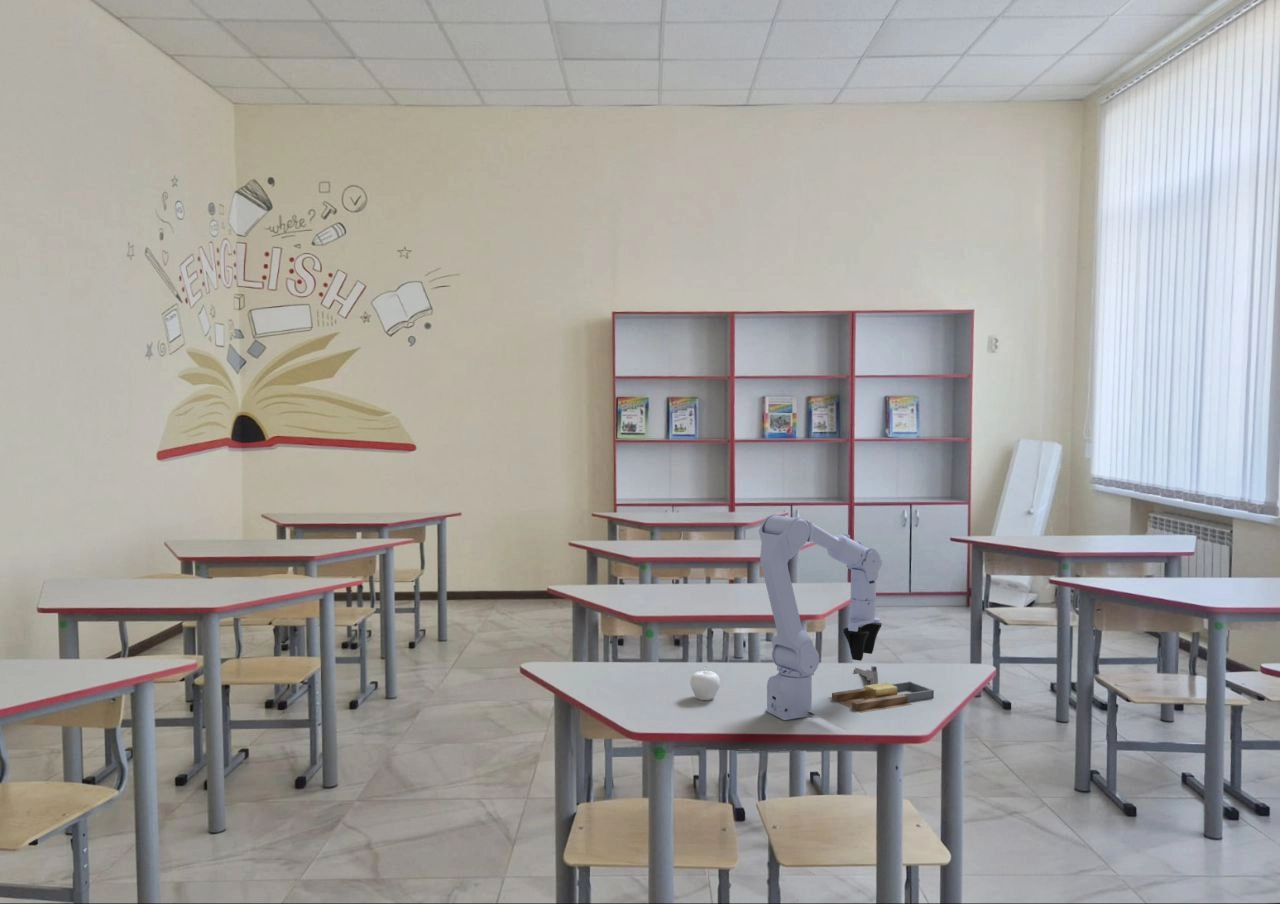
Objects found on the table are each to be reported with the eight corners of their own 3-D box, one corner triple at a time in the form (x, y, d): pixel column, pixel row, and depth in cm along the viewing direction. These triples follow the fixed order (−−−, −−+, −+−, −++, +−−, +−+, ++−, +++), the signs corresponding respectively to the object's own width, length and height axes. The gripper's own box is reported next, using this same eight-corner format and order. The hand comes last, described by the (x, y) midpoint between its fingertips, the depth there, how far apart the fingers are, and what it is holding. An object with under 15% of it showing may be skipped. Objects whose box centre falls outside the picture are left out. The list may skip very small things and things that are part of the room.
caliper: (878, 694, 223) (878, 668, 222) (873, 694, 223) (873, 668, 222) (857, 671, 243) (858, 647, 243) (853, 671, 243) (853, 647, 243)
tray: (905, 707, 212) (905, 694, 211) (883, 697, 219) (883, 685, 219) (933, 702, 215) (933, 690, 215) (910, 693, 222) (910, 681, 222)
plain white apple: (690, 702, 215) (690, 668, 215) (689, 693, 222) (689, 660, 222) (721, 703, 215) (721, 668, 215) (719, 694, 222) (719, 660, 222)
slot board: (860, 717, 204) (860, 705, 204) (828, 702, 215) (828, 691, 215) (911, 709, 210) (911, 697, 210) (877, 695, 221) (877, 684, 221)
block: (875, 703, 211) (875, 690, 210) (864, 698, 214) (864, 685, 214) (897, 700, 213) (897, 686, 213) (885, 695, 217) (885, 682, 217)
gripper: (870, 605, 210) (869, 665, 210) (889, 595, 222) (888, 652, 222) (839, 602, 213) (839, 661, 214) (860, 592, 226) (859, 648, 226)
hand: (862, 656), depth 218 cm, fingers open, 7 cm apart
